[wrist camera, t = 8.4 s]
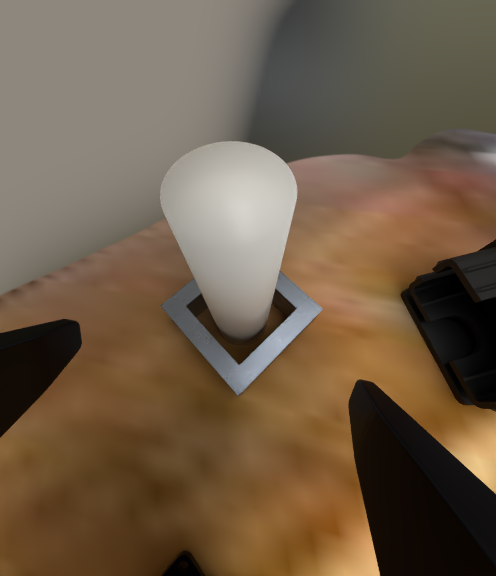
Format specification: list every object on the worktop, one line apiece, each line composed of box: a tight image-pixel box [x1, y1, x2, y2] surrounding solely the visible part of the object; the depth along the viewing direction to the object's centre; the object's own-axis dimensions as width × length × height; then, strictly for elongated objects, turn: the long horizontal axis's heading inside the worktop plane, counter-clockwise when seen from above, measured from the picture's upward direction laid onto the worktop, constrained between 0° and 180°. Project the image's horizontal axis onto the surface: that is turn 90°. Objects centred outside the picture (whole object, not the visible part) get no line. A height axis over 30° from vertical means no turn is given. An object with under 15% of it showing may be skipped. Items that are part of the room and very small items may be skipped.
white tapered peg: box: [160, 141, 297, 345], centre depth 14 cm, size 4×4×14 cm
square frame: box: [160, 271, 323, 396], centre depth 19 cm, size 8×8×3 cm
